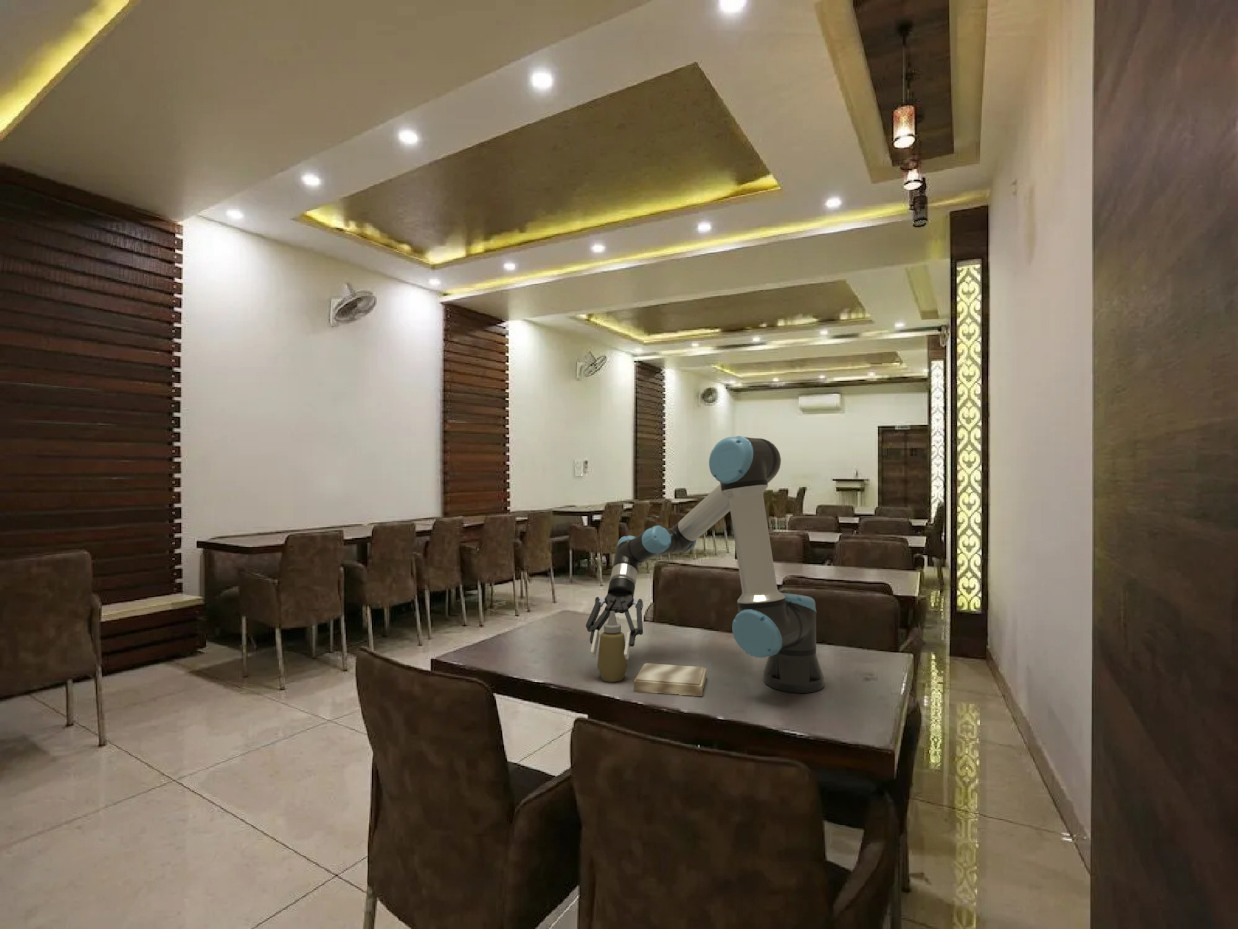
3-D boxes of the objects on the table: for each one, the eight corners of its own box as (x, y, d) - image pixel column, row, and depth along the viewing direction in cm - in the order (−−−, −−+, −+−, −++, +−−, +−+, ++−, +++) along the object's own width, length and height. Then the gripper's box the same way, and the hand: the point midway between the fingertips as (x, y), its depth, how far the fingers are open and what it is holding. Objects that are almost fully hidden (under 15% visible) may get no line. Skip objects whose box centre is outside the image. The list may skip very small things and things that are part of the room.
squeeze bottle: (601, 685, 152) (601, 615, 153) (594, 675, 160) (594, 609, 160) (631, 682, 154) (631, 613, 155) (622, 672, 162) (622, 607, 163)
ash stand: (706, 678, 157) (706, 666, 158) (701, 697, 144) (701, 684, 144) (644, 673, 161) (644, 662, 161) (633, 691, 148) (633, 679, 148)
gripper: (660, 592, 170) (650, 665, 154) (590, 589, 175) (574, 660, 159) (656, 577, 165) (646, 650, 149) (585, 574, 170) (567, 645, 154)
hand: (609, 655), depth 154 cm, fingers open, 8 cm apart
